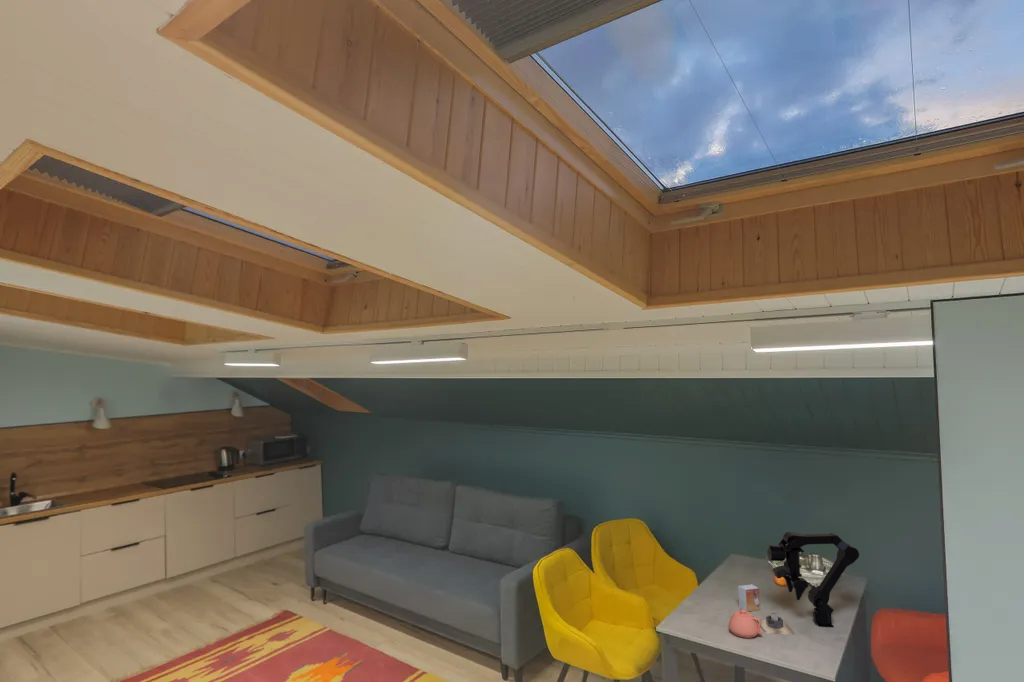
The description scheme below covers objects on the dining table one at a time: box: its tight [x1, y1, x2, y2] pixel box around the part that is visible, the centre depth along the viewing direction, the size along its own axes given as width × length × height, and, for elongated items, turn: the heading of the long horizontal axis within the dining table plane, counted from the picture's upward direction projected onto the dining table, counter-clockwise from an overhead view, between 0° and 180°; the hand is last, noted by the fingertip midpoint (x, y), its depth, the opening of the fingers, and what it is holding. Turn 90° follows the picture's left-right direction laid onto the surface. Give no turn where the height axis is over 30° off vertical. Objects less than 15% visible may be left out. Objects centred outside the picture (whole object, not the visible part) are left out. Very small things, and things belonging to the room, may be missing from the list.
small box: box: [737, 583, 761, 613], centre depth 269 cm, size 8×6×10 cm
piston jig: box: [756, 612, 795, 636], centre depth 248 cm, size 12×12×6 cm
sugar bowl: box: [728, 608, 764, 640], centre depth 242 cm, size 12×14×10 cm
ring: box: [765, 615, 784, 629], centre depth 248 cm, size 6×6×3 cm
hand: (794, 595), depth 253 cm, fingers open, 9 cm apart
